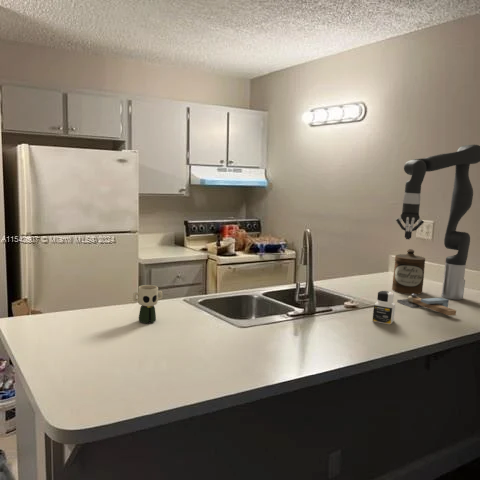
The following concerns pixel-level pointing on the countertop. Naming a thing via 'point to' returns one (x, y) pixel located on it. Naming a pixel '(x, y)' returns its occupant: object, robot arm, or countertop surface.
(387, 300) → the medicine bottle
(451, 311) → the link
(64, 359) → the countertop surface
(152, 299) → the character mug
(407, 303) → the pivot base
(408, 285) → the wooden container
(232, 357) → the countertop surface
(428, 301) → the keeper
